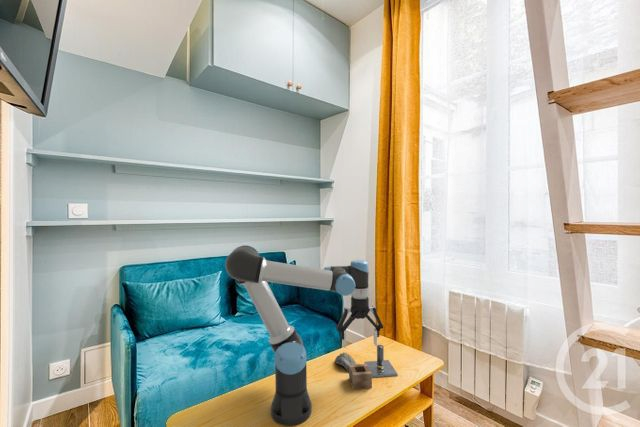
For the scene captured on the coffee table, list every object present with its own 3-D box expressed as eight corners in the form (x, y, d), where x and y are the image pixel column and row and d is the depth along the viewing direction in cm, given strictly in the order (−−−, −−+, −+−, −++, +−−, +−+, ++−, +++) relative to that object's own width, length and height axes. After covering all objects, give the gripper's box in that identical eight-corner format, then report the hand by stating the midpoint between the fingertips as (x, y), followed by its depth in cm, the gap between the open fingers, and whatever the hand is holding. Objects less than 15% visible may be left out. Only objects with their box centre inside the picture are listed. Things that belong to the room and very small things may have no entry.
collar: (353, 389, 124) (353, 375, 124) (349, 378, 132) (349, 365, 132) (371, 387, 125) (371, 373, 125) (366, 376, 133) (366, 363, 133)
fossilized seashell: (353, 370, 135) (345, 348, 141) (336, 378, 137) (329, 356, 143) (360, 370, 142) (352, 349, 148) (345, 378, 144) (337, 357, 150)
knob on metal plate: (371, 377, 132) (371, 353, 132) (364, 363, 144) (364, 341, 144) (397, 375, 133) (397, 351, 133) (388, 361, 145) (388, 339, 145)
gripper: (332, 300, 122) (333, 351, 123) (390, 297, 125) (391, 347, 126) (329, 295, 130) (330, 343, 130) (384, 292, 133) (385, 339, 133)
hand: (360, 345), depth 128 cm, fingers open, 13 cm apart
